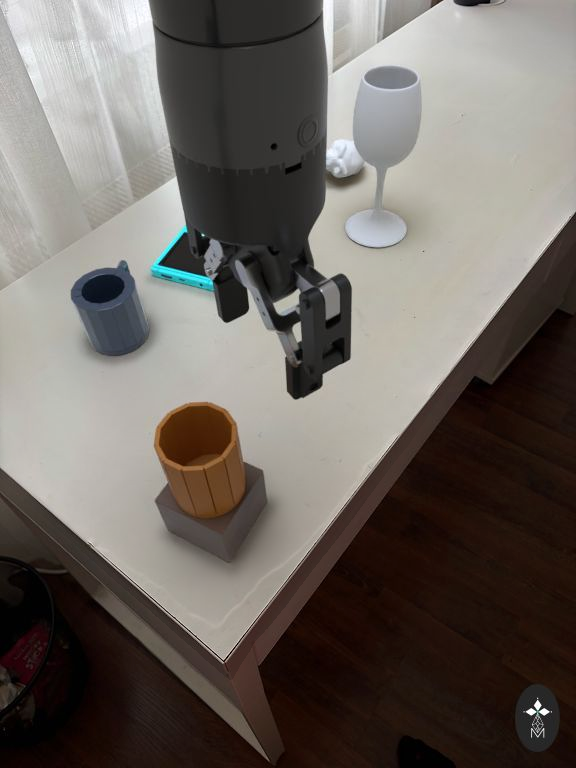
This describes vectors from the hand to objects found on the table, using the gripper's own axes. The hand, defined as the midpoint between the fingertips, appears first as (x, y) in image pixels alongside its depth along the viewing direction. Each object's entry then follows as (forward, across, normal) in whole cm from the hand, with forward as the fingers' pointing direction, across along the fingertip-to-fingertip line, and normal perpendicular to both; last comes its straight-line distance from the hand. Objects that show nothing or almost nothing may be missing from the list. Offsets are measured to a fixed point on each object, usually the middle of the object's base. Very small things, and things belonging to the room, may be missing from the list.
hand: (267, 351), depth 40 cm
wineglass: (+22, -28, +36) cm, 50 cm away
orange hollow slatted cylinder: (+16, -2, -6) cm, 17 cm away
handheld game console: (+22, -38, +14) cm, 47 cm away
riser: (+22, -2, -6) cm, 23 cm away
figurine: (+22, -44, +39) cm, 62 cm away
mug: (+22, -32, -2) cm, 39 cm away
